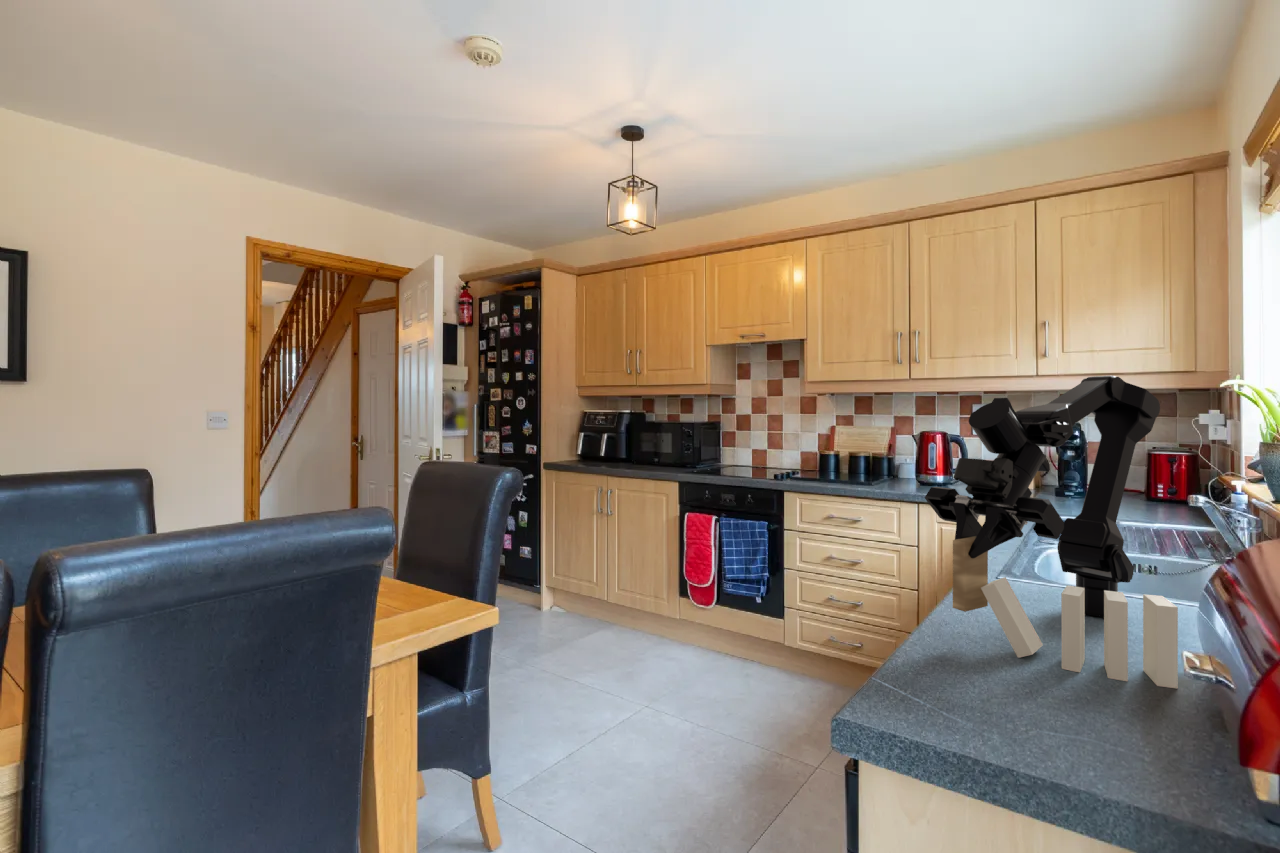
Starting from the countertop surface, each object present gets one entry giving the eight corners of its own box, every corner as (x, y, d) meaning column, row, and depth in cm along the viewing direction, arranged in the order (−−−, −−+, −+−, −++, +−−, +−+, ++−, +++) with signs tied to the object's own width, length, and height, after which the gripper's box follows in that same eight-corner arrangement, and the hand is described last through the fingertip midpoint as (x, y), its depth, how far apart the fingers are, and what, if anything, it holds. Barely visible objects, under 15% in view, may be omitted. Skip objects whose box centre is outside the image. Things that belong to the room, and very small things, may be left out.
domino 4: (1107, 678, 79) (1107, 600, 79) (1104, 664, 83) (1104, 590, 83) (1127, 681, 78) (1127, 602, 78) (1122, 667, 82) (1122, 592, 82)
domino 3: (1061, 668, 82) (1061, 593, 82) (1067, 657, 86) (1066, 585, 86) (1080, 672, 81) (1079, 596, 80) (1084, 660, 84) (1084, 587, 84)
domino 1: (952, 607, 91) (952, 540, 90) (975, 602, 93) (975, 536, 93) (965, 611, 89) (965, 542, 89) (987, 606, 91) (987, 538, 91)
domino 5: (1157, 685, 76) (1157, 605, 76) (1143, 670, 81) (1143, 594, 81) (1177, 688, 76) (1177, 607, 75) (1162, 672, 80) (1162, 595, 80)
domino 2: (1018, 657, 86) (980, 587, 89) (1028, 648, 89) (992, 581, 92) (1032, 654, 84) (994, 583, 88) (1043, 644, 88) (1005, 577, 91)
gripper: (931, 436, 100) (883, 510, 96) (1051, 440, 84) (999, 530, 79) (964, 482, 104) (919, 555, 99) (1085, 494, 87) (1037, 582, 83)
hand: (963, 554), depth 90 cm, fingers closed on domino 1, 2 cm apart
